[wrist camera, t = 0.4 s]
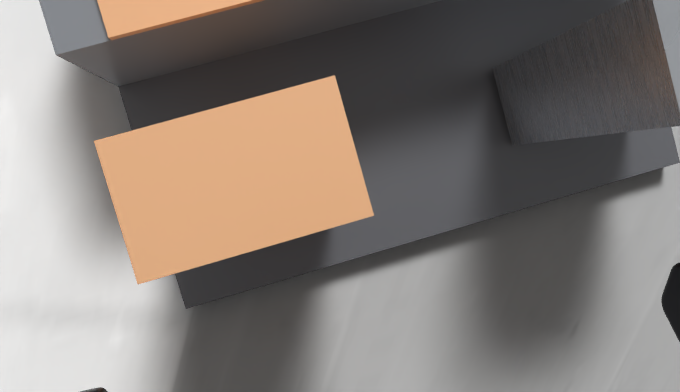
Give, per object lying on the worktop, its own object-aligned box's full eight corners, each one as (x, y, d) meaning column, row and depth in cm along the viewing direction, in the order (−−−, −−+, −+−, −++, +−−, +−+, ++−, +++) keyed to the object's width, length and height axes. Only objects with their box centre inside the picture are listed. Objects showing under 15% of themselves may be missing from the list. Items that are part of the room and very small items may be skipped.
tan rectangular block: (335, 196, 23) (374, 215, 13) (204, 233, 22) (137, 284, 12) (313, 118, 22) (335, 74, 12) (181, 154, 22) (93, 140, 12)
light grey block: (633, 110, 23) (889, 65, 13) (512, 145, 23) (683, 125, 13) (615, 34, 23) (860, -69, 13) (492, 68, 23) (650, -11, 13)
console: (664, 162, 25) (818, 159, 18) (190, 302, 24) (147, 361, 16) (583, -164, 24) (710, -309, 17) (86, -40, 23) (-8, -140, 15)
